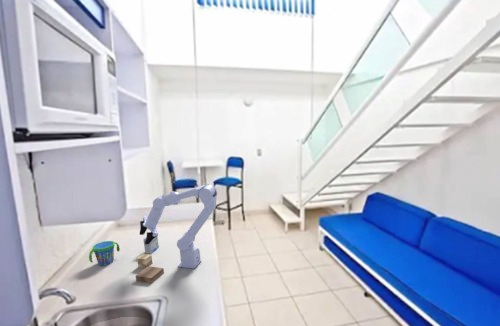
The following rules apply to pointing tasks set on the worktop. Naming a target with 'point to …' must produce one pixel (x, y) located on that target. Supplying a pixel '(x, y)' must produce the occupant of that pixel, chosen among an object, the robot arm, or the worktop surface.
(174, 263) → the worktop surface
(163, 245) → the worktop surface
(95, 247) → the snack cup
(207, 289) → the worktop surface
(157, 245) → the medicine box
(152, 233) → the robot arm
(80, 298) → the worktop surface
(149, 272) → the walnut block
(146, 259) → the maple cube
